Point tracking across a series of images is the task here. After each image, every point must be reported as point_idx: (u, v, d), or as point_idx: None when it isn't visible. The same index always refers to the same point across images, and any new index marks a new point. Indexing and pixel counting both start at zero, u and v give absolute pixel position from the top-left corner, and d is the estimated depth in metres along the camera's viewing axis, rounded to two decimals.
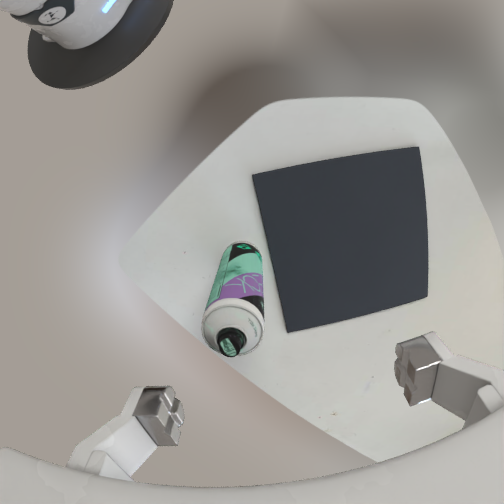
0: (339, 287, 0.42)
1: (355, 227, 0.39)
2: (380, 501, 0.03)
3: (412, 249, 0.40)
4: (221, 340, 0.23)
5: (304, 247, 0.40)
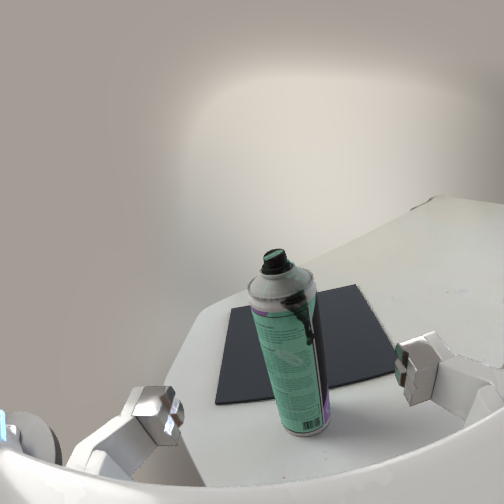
0: (344, 338, 0.40)
1: None
2: (380, 501, 0.03)
3: None
4: (266, 261, 0.22)
5: None
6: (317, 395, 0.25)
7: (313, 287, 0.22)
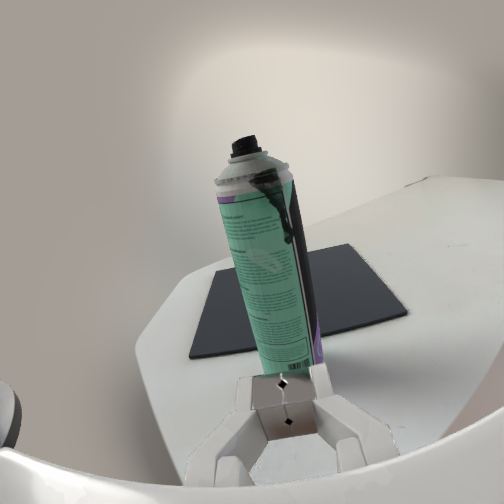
0: (338, 288, 0.37)
1: None
2: (380, 501, 0.03)
3: None
4: (234, 145, 0.19)
5: None
6: (304, 323, 0.21)
7: (288, 173, 0.19)
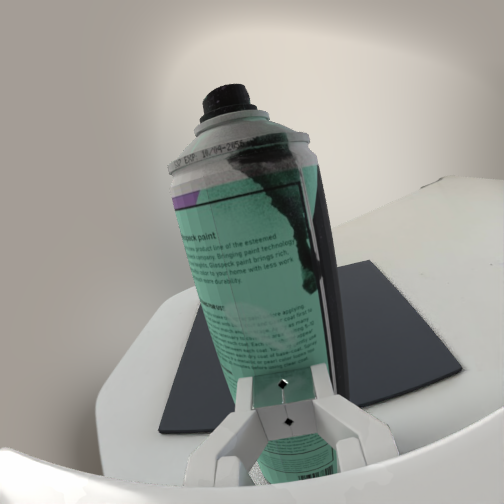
0: (364, 329, 0.26)
1: None
2: (379, 501, 0.03)
3: None
4: (205, 102, 0.10)
5: None
6: None
7: (310, 151, 0.10)
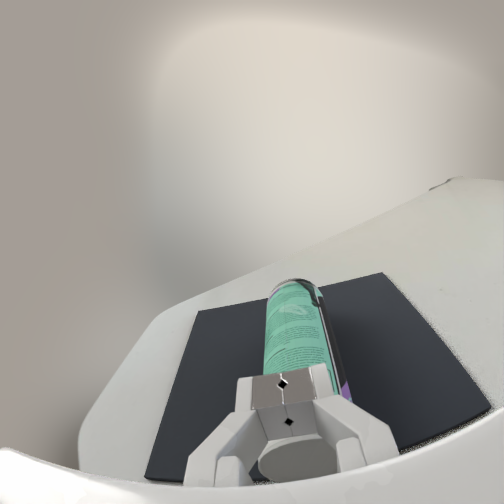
0: (381, 359, 0.21)
1: None
2: (379, 501, 0.03)
3: None
4: None
5: None
6: (328, 358, 0.17)
7: (320, 295, 0.27)
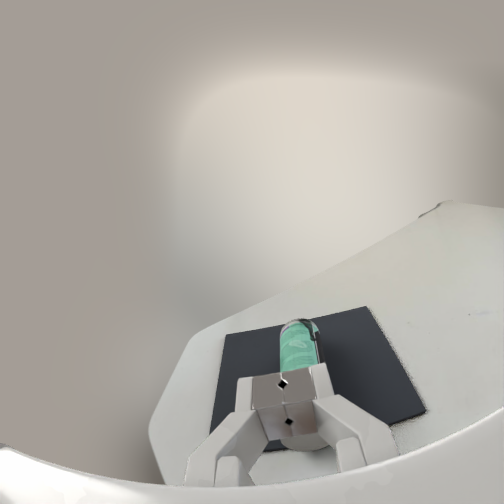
0: (357, 375, 0.33)
1: None
2: (380, 501, 0.03)
3: None
4: None
5: None
6: None
7: (317, 329, 0.39)
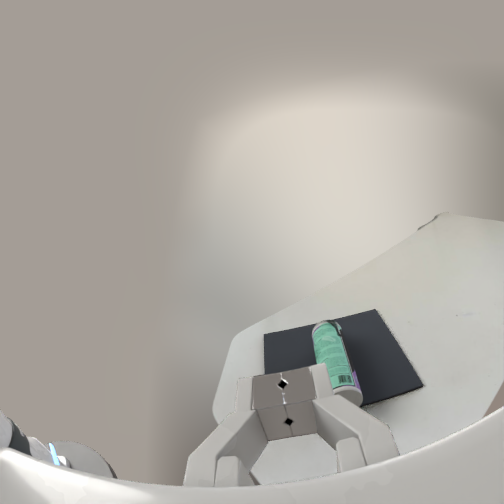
0: (371, 361, 0.44)
1: None
2: (379, 501, 0.03)
3: None
4: None
5: None
6: (346, 361, 0.40)
7: (340, 327, 0.50)
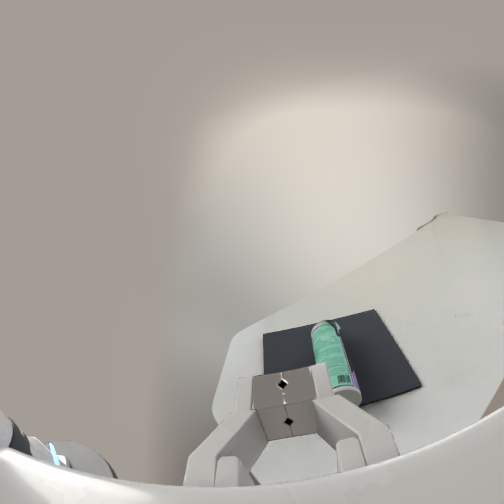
0: (370, 361, 0.44)
1: None
2: (380, 501, 0.03)
3: None
4: None
5: None
6: (345, 361, 0.40)
7: (339, 327, 0.50)
